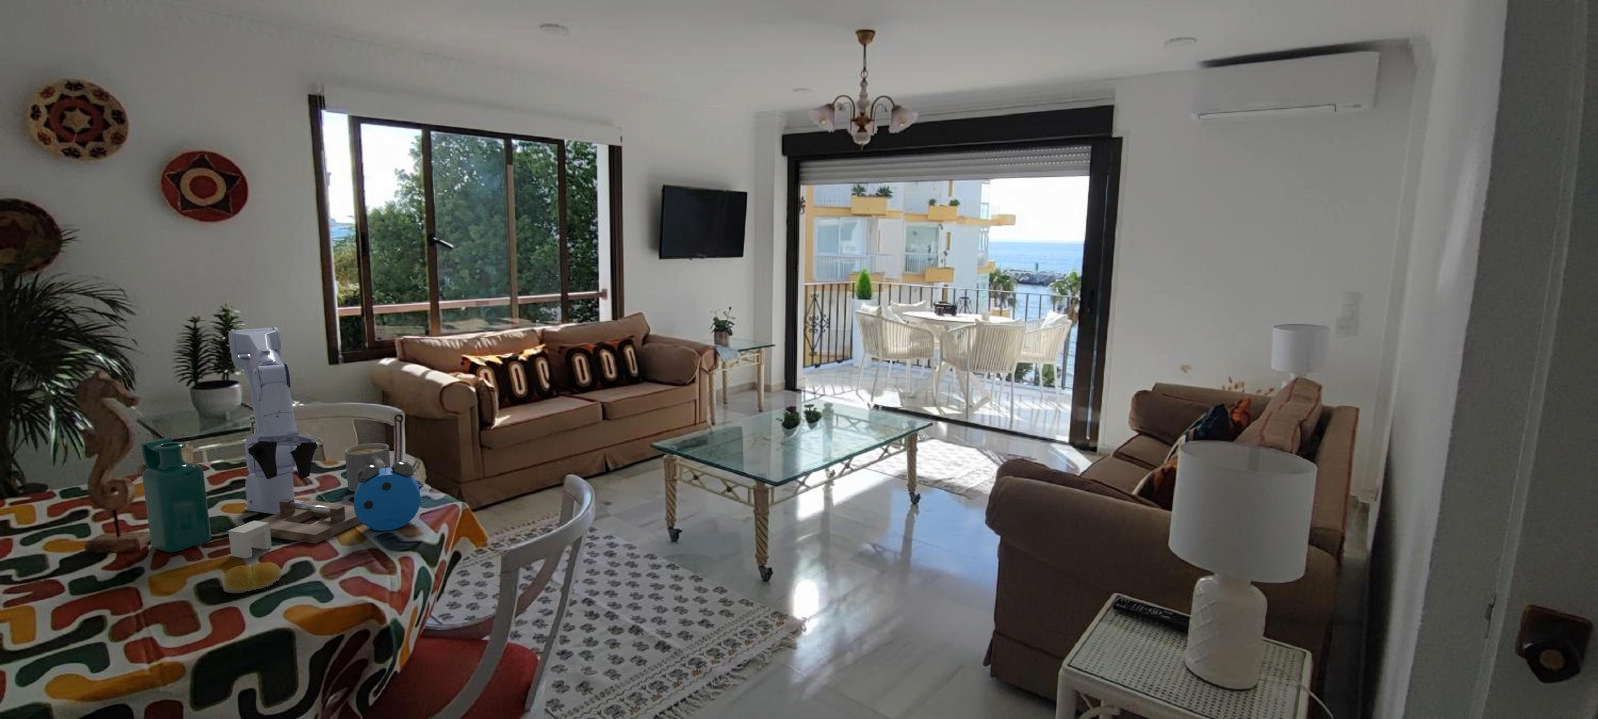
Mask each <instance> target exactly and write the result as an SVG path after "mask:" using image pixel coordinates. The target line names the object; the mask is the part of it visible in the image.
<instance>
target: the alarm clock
mask: <svg viewBox="0 0 1598 719" xmlns="http://www.w3.org/2000/svg"><path fill="white" fill-rule="evenodd" d="M383 467H385V468H382V469H380V468H379V467H378V466H376V465H367V466H365V467H362V468H361V469H360V470H359V472H358V473H357V476H356V478H357V481H358V482H359V484H358V486H357V488H356V491H355V492H354V496H353V498H354V499H353V506H354V511H355V514H356V516H357V518H358V519H359V520H360V522H361V523H360V524H362V525H364V526H365V527H367V528H368V529H371V530H375V531H380V532H381V531H382V532H388V531H395V530H397V529H400V528H402V527H404V526H406V525H407V524H409V523H410V522H411V521H412V520H413V519H414V518H416V517H415V516H416V515H417V514H418V512H419V510H420V507H421V503H422V502H421V500H422V499H421V498H422V497H421V492H420V487H419V483H418V482H417V479H415V478H414V474H415V468H414V467H413V465H412V464H410V463H409V461H402V460H401V461H400V460H399V461H396V462H394V463H393V464H392V465H391V466H390V467H391V468H386V467H388V465H387V466H383Z"/></svg>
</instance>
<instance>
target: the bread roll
mask: <svg viewBox="0 0 1598 719" xmlns="http://www.w3.org/2000/svg"><path fill="white" fill-rule="evenodd" d="M281 577H282V570H281V568H280V566H279V565H278V564H276V563H274V562H271V561H270V562H269V561H268V562H267V561H266V562H259V563H258V562H257V563H255V564H253V565H252V566H250V565H244V564H243V565H242V564H241V565H236V566H234V567H232V568H230V569H229V570H228V571H227V572H226V574H225V575H224V577H223V581H222V582H223V583H222V585H223V586H222V588H223V592H226V593H229V594H241V593H247V591H248V592H251V591H257V590H256V589H260V590H263V589H262V588H264V587H267V588H269V587H271V586H272V585H274V584H275V583H277V582H278V581H280V579H281ZM276 581H277V582H276ZM274 582H275V583H274ZM273 583H274V584H273ZM270 585H271V586H270ZM268 586H269V587H268ZM264 589H265V588H264Z"/></svg>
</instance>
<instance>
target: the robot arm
mask: <svg viewBox="0 0 1598 719" xmlns="http://www.w3.org/2000/svg"><path fill="white" fill-rule="evenodd" d="M281 340H282V339H281V334H280V331H279V329H278V328H277V327H276V326H272V327H263V328H261V327H260V328H247V329H245V328H244V329H234V328H233V329H230V330H229V331H228V344H229V350H230V354H231V360H232V363H233V365H234V367H235V368H238V369H241V370H243V372H244V374H245V376H246V378H247V381H248V388H249V393H250V398H251V399H250V400H251V405H252V409H253V411H252V412H253V416H254V423H255V428H256V432H255V433H251V434H249V435H247V436H245V441H246V442H245V444H244V449H245V461H246V462H245V463H246V467H247V468H246V469H247V472H248V473H249V474H248V475H247V477H246V479H245V483H244V484H245V485H244V486H245V494H246V495H245V496H246V504H247V505H246V507H244V510H245V511H250V512H258V513H264V514H271V515H275V514H277V513H280V505H279V501H282V500H285V499H294V502H295V503H302V504H303V503H305V501H304V500H299V499H295V490H294V488H295V487H294V480H293V479H294V478H293V471H294V468H296V471H297V475H298V477H299V479H301V480H303V479H307V478H308V477H310V476H311V469H312V468H311V466H312V461H313V457H314V454H315V452H316V450H317V448H318V443H317V439H316V436H314V435H308V434H304V433H301V432H300V430H299V429H297V424H296V418H295V417H296V416H295V413H294V407H293V406H294V405H293V401H292V396H291V395H292V394H291V390H290V389H291V385H292V376H291V375H292V374H291V372H290V367H289V365H288V363H287V362H283V361H282V360H281V350H282V349H281V348H282V343H281V342H282V341H281Z"/></svg>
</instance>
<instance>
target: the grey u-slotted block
mask: <svg viewBox="0 0 1598 719" xmlns="http://www.w3.org/2000/svg"><path fill="white" fill-rule="evenodd" d="M228 538H229V540H228V541H229V548H230V555H231V557H234V558H235V557H237V558H241V557H242V558H243V559H248V557H249V558H251V557H253V549H258V548H260V550H265V549H267V550H269V549H271V547H272V539H271V538H272V537H271V536H270V526H269V523H267V522H260V521H259V520H252V521H249V522H247V523H244V524H242V525H240V526H236V527H235V528H231V529H229V530H228ZM252 548H253V549H252ZM268 548H269V549H268Z"/></svg>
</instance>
